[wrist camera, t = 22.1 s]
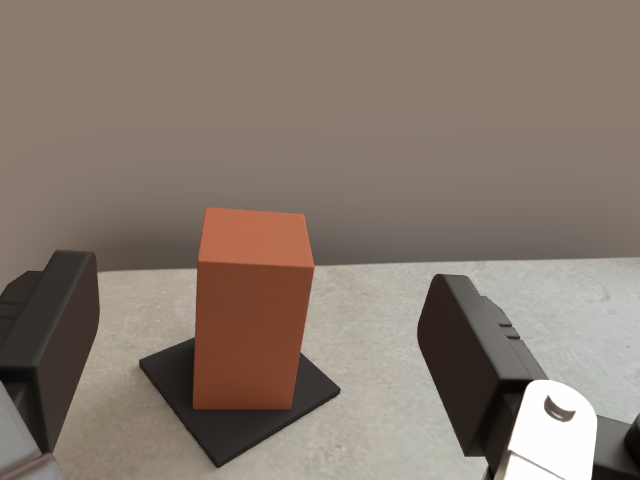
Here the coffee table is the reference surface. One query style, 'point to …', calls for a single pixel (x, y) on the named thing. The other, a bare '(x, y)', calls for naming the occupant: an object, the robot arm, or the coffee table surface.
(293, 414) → the felt mat
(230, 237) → the top block
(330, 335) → the coffee table surface
